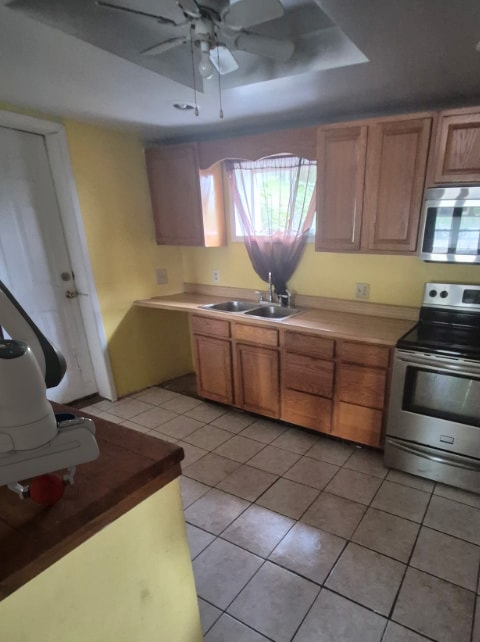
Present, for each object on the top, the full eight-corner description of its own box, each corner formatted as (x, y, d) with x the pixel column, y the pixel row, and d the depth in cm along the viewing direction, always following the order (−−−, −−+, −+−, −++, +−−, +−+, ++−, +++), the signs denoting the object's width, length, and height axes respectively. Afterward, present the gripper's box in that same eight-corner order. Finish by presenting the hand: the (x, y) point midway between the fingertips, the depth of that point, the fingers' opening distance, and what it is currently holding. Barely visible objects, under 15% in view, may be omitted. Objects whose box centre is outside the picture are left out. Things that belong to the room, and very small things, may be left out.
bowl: (28, 449, 92) (23, 431, 90) (51, 428, 101) (46, 412, 99) (69, 448, 92) (64, 430, 90) (88, 428, 101) (84, 412, 99)
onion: (64, 490, 78) (55, 458, 74) (73, 503, 74) (63, 471, 71) (32, 503, 74) (20, 470, 71) (39, 518, 70) (27, 484, 67)
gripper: (90, 408, 75) (104, 465, 80) (-41, 436, 65) (-15, 499, 70) (94, 421, 70) (108, 481, 75) (-48, 454, 60) (-20, 520, 65)
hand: (48, 490), depth 73 cm, fingers closed on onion, 6 cm apart
